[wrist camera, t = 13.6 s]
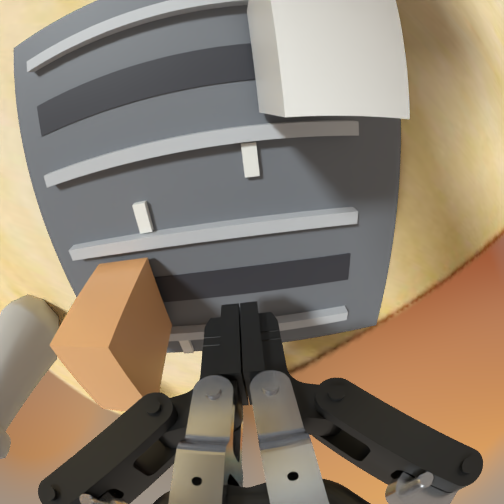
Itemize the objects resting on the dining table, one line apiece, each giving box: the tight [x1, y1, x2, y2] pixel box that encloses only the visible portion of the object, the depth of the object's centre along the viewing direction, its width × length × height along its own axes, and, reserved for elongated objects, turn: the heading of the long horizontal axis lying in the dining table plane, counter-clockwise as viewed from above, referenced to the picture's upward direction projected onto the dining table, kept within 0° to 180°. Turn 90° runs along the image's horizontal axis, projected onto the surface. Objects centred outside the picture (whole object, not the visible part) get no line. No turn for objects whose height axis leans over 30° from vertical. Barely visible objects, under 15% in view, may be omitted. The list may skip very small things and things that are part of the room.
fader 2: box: [247, 0, 410, 119], centre depth 6 cm, size 4×3×6 cm, turn 6°
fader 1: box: [50, 257, 172, 411], centre depth 11 cm, size 4×3×6 cm, turn 6°
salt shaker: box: [0, 295, 59, 459], centre depth 11 cm, size 6×6×13 cm
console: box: [14, 0, 401, 353], centre depth 12 cm, size 20×18×3 cm
